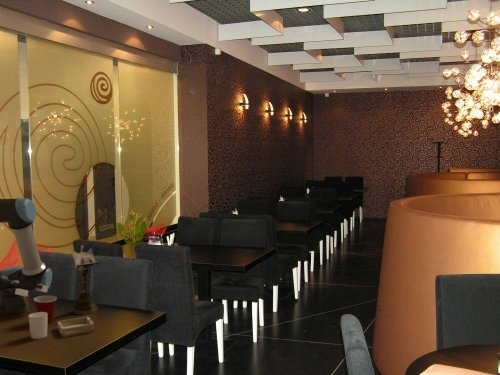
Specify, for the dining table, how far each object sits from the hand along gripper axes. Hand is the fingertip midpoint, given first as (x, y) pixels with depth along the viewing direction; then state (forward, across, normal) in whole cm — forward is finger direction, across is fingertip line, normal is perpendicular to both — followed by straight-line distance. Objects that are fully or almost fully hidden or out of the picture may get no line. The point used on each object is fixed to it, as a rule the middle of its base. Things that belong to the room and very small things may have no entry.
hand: (37, 291), depth 243 cm
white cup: (+6, -1, -19) cm, 20 cm away
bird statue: (+39, -9, -1) cm, 40 cm away
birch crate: (+18, +7, -15) cm, 25 cm away
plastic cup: (+19, -15, -9) cm, 26 cm away
